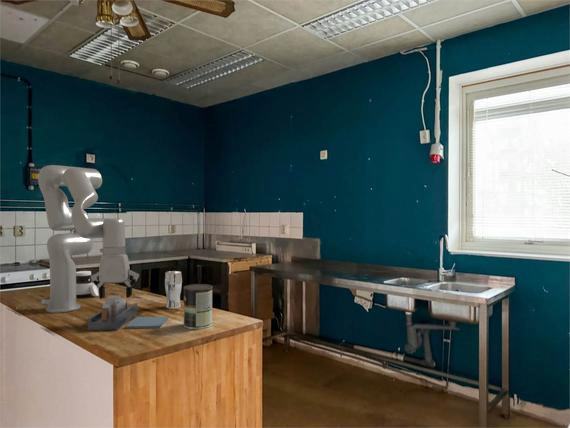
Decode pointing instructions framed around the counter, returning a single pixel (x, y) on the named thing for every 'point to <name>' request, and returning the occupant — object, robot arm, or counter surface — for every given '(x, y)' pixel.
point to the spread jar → (85, 285)
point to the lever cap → (115, 305)
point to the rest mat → (146, 322)
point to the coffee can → (198, 306)
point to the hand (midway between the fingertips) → (115, 297)
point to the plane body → (111, 319)
